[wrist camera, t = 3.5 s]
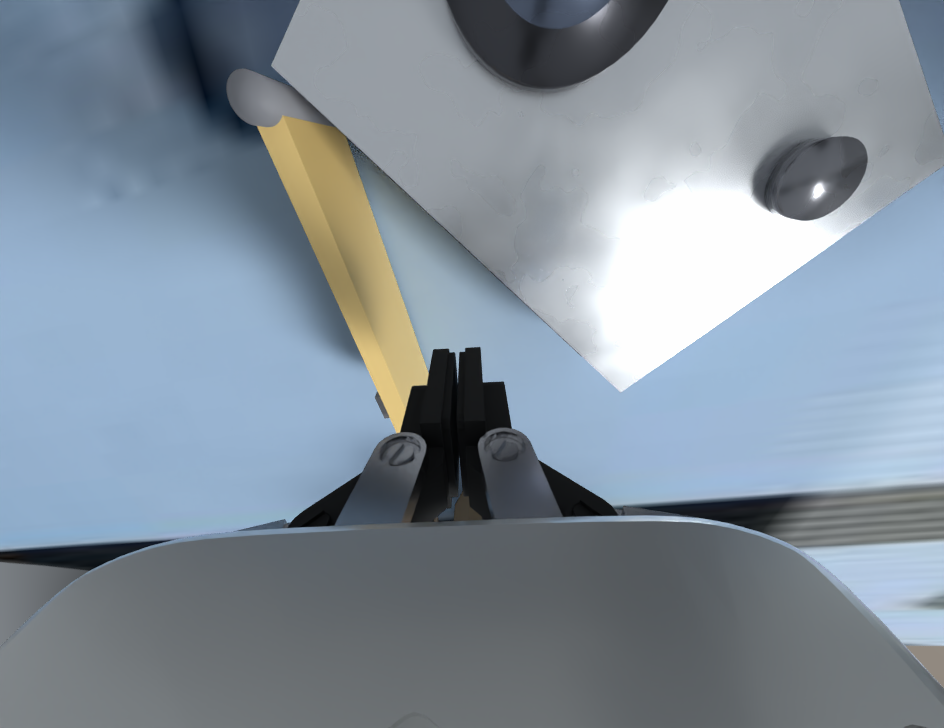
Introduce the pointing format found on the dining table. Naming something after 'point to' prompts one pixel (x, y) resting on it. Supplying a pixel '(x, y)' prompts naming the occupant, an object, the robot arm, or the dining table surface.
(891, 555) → the dining table surface
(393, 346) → the ochre side door
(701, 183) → the aluminium camera mock-up
